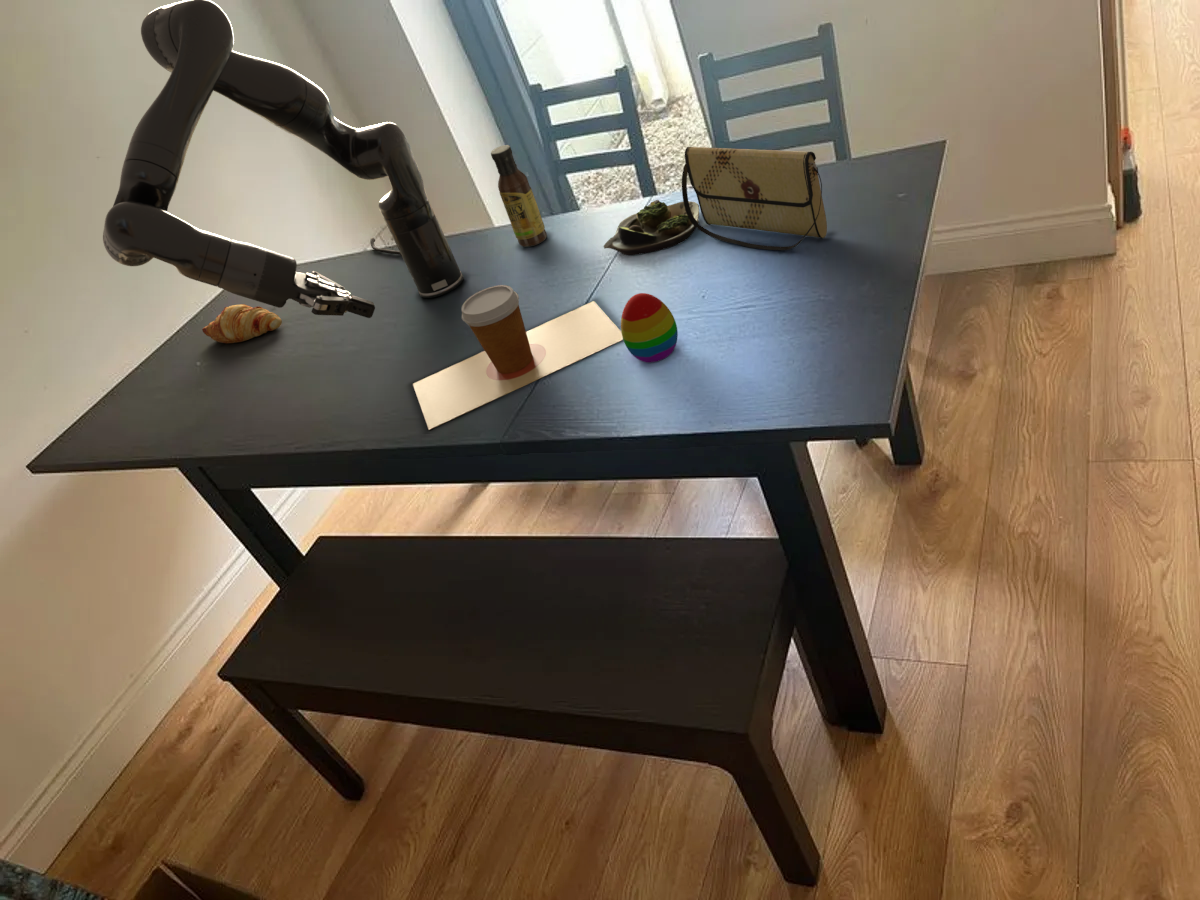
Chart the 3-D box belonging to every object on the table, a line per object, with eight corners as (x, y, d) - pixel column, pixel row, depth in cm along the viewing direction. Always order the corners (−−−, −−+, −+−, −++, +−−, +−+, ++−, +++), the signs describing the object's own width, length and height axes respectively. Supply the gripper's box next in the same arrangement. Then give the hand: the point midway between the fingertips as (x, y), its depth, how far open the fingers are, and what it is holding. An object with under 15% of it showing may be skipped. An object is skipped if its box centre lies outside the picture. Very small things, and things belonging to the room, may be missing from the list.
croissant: (299, 334, 202) (292, 296, 201) (267, 338, 193) (259, 299, 192) (223, 344, 211) (216, 309, 209) (189, 349, 201) (181, 311, 200)
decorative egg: (675, 331, 145) (658, 274, 140) (688, 355, 138) (670, 296, 133) (626, 349, 146) (606, 294, 140) (636, 374, 139) (616, 317, 133)
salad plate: (619, 217, 188) (612, 196, 186) (706, 197, 182) (700, 175, 180) (602, 263, 174) (595, 241, 171) (696, 243, 168) (690, 219, 165)
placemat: (412, 384, 159) (412, 383, 159) (593, 301, 162) (593, 300, 162) (429, 430, 145) (428, 429, 145) (626, 338, 148) (626, 337, 148)
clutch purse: (683, 238, 171) (660, 160, 163) (708, 220, 174) (687, 142, 166) (816, 257, 150) (798, 168, 141) (842, 235, 153) (825, 147, 144)
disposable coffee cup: (537, 372, 149) (510, 307, 142) (482, 385, 151) (452, 321, 144) (545, 341, 156) (520, 277, 149) (493, 353, 158) (465, 292, 152)
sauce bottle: (513, 248, 193) (476, 156, 182) (533, 233, 196) (498, 142, 185) (535, 249, 189) (499, 155, 178) (555, 234, 192) (520, 141, 181)
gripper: (265, 264, 129) (387, 303, 137) (263, 236, 140) (376, 274, 148) (249, 313, 131) (369, 349, 139) (248, 282, 142) (360, 317, 150)
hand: (372, 310), depth 143 cm, fingers closed
